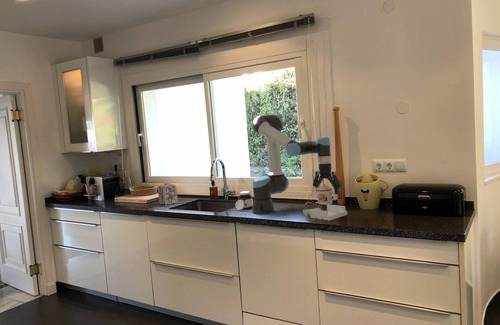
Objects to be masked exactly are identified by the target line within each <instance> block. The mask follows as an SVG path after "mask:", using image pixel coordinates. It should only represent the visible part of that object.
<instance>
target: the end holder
mask: <svg viewBox="0 0 500 325" xmlns="http://www.w3.org/2000/svg"><path fill="white" fill-rule="evenodd" d="M309 210H310V215H309V218H310V217H311V218H312V219H316V218H317V219H316V220H322V219H323V221H329V222H330V221H332V220H335V219H339V218H341V217H345V216H347V215H348V210H346V206H345V205H337V204H326V210H322V209H321V210H314V208H311V209H309ZM311 218H310V219H311Z"/></svg>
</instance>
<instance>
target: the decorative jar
mask: <svg viewBox="0 0 500 325" xmlns="http://www.w3.org/2000/svg"><path fill="white" fill-rule="evenodd" d="M157 192H158V193H157V194H158V203H162V204H171V203H176V202H178V200H179V199H178V190H177V187H176V185H175V183H170V181H165V182H163V184H161V185H159V186H158V187H157ZM176 204H177V203H176ZM171 205H172V204H171Z"/></svg>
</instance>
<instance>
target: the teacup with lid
mask: <svg viewBox="0 0 500 325" xmlns="http://www.w3.org/2000/svg"><path fill="white" fill-rule="evenodd" d="M317 195H318V198H317V204H318V205H325V206H327V205H328V204H329V205H332V204H333V201H335V200H334V198H333V187H330V186H328V185H326V184H325V183H323V184H321V186H320V188H317V193H316V196H317Z"/></svg>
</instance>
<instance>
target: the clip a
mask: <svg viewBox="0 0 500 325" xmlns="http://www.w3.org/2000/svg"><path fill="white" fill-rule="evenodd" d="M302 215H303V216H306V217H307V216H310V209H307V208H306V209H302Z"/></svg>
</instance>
